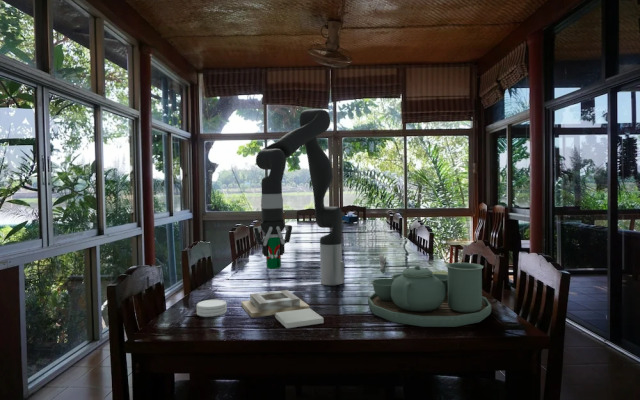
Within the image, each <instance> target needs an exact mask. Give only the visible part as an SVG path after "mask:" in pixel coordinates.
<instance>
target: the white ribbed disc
mask: <svg viewBox="0 0 640 400" xmlns="http://www.w3.org/2000/svg"><path fill="white" fill-rule="evenodd" d="M195 307H196V315H197V316H199V317H204V318H209V317H212V318H213V317H219V316H222V315H224V314H226V313H227V311H228V309H227V302H226V300H223V299H206V300H202V301H199V302H197V304H196V306H195Z"/></svg>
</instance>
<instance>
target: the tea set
mask: <svg viewBox="0 0 640 400" xmlns="http://www.w3.org/2000/svg"><path fill="white" fill-rule="evenodd" d="M445 266H446V268H447V273H448V275H445V274H433V272H434V271H432V270H430V269H429V268H427V267H425V268H424V267H421V266H420V265H415V266H414V267H411V268H410V267H409V268H406V269H404V270H403V271H402V273H397V274H393V275H392V276H391V278H388V277H386V278H376V279H373V280H372V281H371V284H372V286H373V290H374V293H372V294H371V295H370V296H367V305H368V306H369V308H370V310H371V312H372V313H373V315H375V316H377V317H379V318H382V319H384V320H387V321H389V322H392V323H398V324H404V325H409V326H417V327H420V328H421V327H423V328H424V327H426V328H435V327H436V328H450V327H451V328H455V327H462V326H467V325H471V324H478V323H480V322H482V321H483V320H485V319H486V318H487V317H489V316H490V315H491V313H492V304H491V303H490V302H489V300H488V299H487V297H486V296H483V278H482V277H483V271H482V269H483V268H484V265H482V264H478V263H471V262H446V264H445Z"/></svg>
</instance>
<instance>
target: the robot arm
mask: <svg viewBox="0 0 640 400" xmlns="http://www.w3.org/2000/svg"><path fill="white" fill-rule="evenodd" d="M330 125H331V116H330V113H329V112H328V111H327V110H325V109H322V108H321V109H319V108H316V109H304V110H302V111H301V112H300V115H299V127H298V128H295V129H293V130H291V131H289V132H287V133H286V134H284V135H283V136H281V137H280V138H279V139H278V140H277V141H276V142H273V143H272V144H269V145H267V146H266V147H264V148H261V149H260V150H259V151H258V153H257V154H256V156H255V157H256V158H255V164H256V165H257V167H258V168H259V169H260V170H264V171H269V170H270V171H269V174H268V175H267V176H265V177H263V178H262V179H261V186H260V187H261V199H260V200H261V201H260V208H261V209H260V210H261V212H260V213H261V224H260V225H259V226H253V228H252V231H253V235H254V239H255V242H256V244H257V245H261V254H262V255H263V256H264V257H265V258H266V257H267V246H266V245H267V242H268V240H269V237H270V234H278V235H279V237H280V246H281V256H284V254H285V253H286V252H285V244H286V243H289V242H290V241H291V236H292V231H293V226H292V225H290V224H285V222H284V199H283V186H282V185H283V184H282V183H283V179H284V178H283V177H284V173H285V170H286V165H287V158H289V157H290V156H292V155H293V154H294V153H295V152H296V151H297V150H298V149H300V148H301V147H303V146H304V145H305V152H306V157H307V163H308V171H309V176H310V182H311V186H312V187H311V188H312V193H313V203H314V215H315V222H316V224H317V227H319V228H324V229H332V230H331V232H330V233H329V234H326V235H322V236H320V238H319V246H320V247H319V253H320V255H319V256H320V264H319V265H320V284H322V285H324V286H337V285H341V284H344V283H345V272H344V271H345V270H344V266H345V264H344V260H343V256H342V254H343V253H342V251H343V250H342V236H343V234H342V233H343V232H342V231H343V211H342V208H341V207H340V206H325V203H324V202H325V197H326V194H327V191H328V190H329V187H330V186H331V184H332V181H333V176H334V175H333V171H332V169H333V168H332V162H331V160H330V158H329V156H328V155H327V154H326V152H325V151H324V150H323V148H322V147H321V146H320V143H319V142H318V139H317V137H318V136H319V135H322V134H324V133H325V132H327V131H328V130H329V128H330ZM283 230H284V231H285V233H284V235H285V236H284V235H283V233H282V232H283ZM261 231H263V233H264V234H263V237H262V239H261V235H260V233H261Z"/></svg>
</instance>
